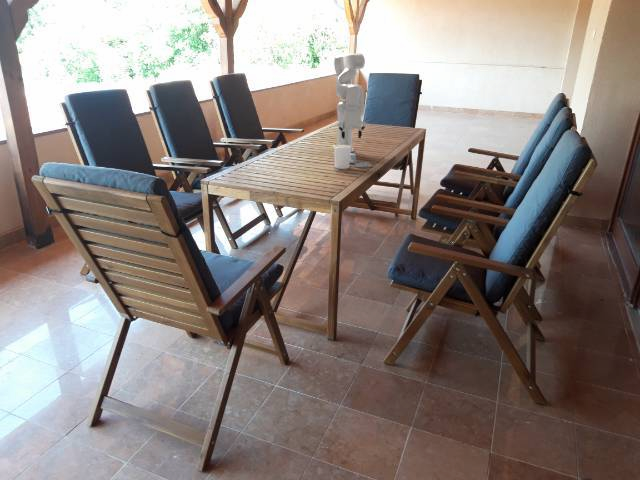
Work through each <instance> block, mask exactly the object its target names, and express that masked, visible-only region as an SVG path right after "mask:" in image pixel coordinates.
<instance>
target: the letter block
mask: <svg viewBox="0 0 640 480" xmlns="http://www.w3.org/2000/svg"><path fill="white" fill-rule="evenodd" d="M356 159H357V154H356V153H355V152H351V153H350V164H353V163H357V161H356Z"/></svg>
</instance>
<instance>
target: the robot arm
mask: <svg viewBox="0 0 640 480" xmlns="http://www.w3.org/2000/svg"><path fill="white" fill-rule="evenodd" d="M333 61H334V62H333V63H334V64H333V66H334V70H335V74H336V76H337V78H336V81H335V90H336V91H335V92H336V96H337V97H338V98H339V99H340V100H341V101H339V102H338V103H337V105H336V113H337V141H336V142H337V144H336V145H349V146H351V153H354V151H355V149H354V148H353V129H357V130H358V133H357V134H358V135H357V136H358V137H357V138H358V139H361V137H362V132H363V131H364V129H365V128H366V126H367V123H366V122H364V121H362V119H361V118H362V117H363V116H364V114H365V91H364V87H363V86H362V85H360V84H357V83H356V84H355V83H354V84H353V83H352V80H354V79H355V78H356V76H357V70H362V69H363V68H364V67H365V63H366V62H365V61H366V60H365V55H363V53H349V52H348V53H345V54H340V55H339V54H338V55H337V56H335V57H334V60H333Z"/></svg>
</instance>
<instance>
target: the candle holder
mask: <svg viewBox="0 0 640 480" xmlns="http://www.w3.org/2000/svg"><path fill="white" fill-rule="evenodd" d="M333 153H334V154H333V155H334V156H333V157H334V159H333V160H334V161H333V162H334V168H335V169H339V170H346V169H349V167H350V164H351V163H350V153H352V152H351V146H349V145H337V144H335V145H334V146H333Z"/></svg>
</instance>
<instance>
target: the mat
mask: <svg viewBox="0 0 640 480" xmlns="http://www.w3.org/2000/svg"><path fill="white" fill-rule="evenodd" d="M352 165H354V167H356V168H358V169H359V168H360V169H361V168H363V169H365V168H373V167H374V166H373V165H372V164H371V163H370V162H367V161H366V162H365V161H362V162H361V161H360V162H356V163H352Z"/></svg>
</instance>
